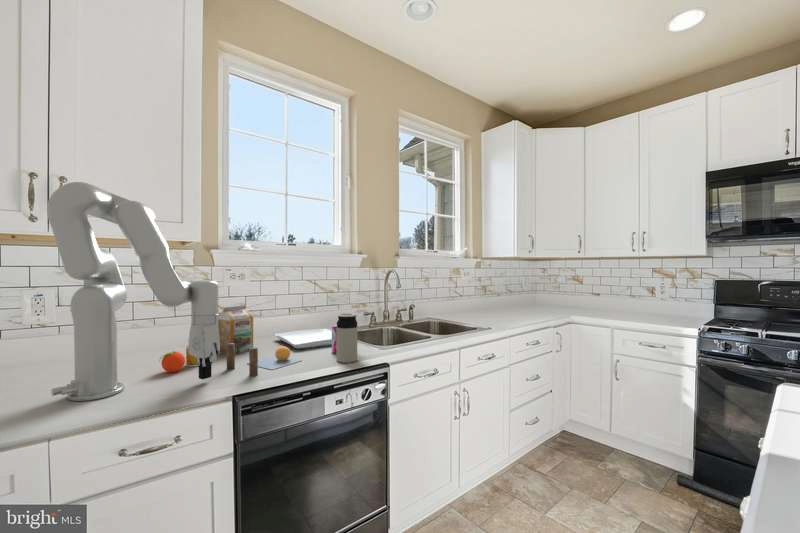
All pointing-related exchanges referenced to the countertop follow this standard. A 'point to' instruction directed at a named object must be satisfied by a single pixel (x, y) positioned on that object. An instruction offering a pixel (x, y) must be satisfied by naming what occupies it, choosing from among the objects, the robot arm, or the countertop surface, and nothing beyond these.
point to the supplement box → (334, 339)
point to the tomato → (172, 361)
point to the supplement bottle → (190, 358)
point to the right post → (253, 361)
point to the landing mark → (275, 363)
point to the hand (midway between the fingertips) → (205, 377)
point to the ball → (282, 353)
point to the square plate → (307, 338)
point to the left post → (230, 356)
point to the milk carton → (235, 328)
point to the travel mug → (346, 337)
